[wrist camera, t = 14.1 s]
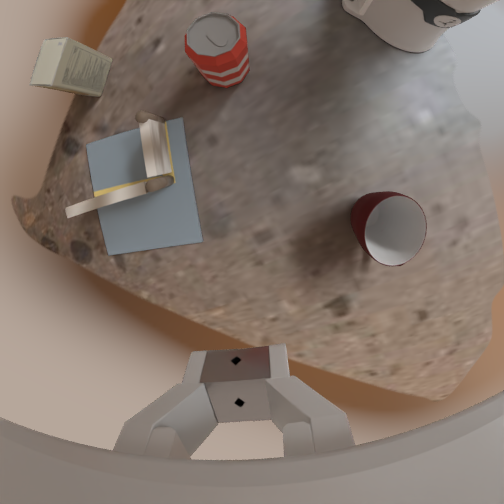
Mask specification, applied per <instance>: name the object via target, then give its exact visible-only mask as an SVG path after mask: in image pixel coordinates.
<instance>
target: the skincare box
mask: <svg viewBox="0 0 504 504" xmlns="http://www.w3.org/2000/svg"><path fill="white" fill-rule="evenodd" d="M111 63H112V59H111V58H109V57H107V56H105V55H103V54H102V53H99V52H97V51H95V50H93V49H91V48H89V47H87V46H85V45H83V44H81V43H79V42H77V41H74V40H72V39H70V38H68V37H65V38H51V39H45V40H44V42H43V44H42V46H41V49H40V52H39V55H38V57H37V60H36V64H35V67H34V70H33V73H32V77H31V81H30V85H31V86H37V87H43V88H49V89H54V90H60V91H65V92H69V93H74V94H79V95H86V96H94V97H100V96H101V94H102V91H103V88H104V85H105V82H106V78H107V75H108V72H109V69H110V66H111Z"/></svg>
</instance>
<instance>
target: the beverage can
mask: <svg viewBox="0 0 504 504" xmlns="http://www.w3.org/2000/svg"><path fill="white" fill-rule="evenodd" d="M185 52H186V54H187V55H188V56H189V58H190V59H191V60H192V62H193V63H194V65H195V66H196V67H197V69H198V70H199V71H200V73H201V74H202V76H203V77H204V78H205V79H206V80H207V81H208V82H209V83H210V84H211V85H213V86H219V87H225V88H228V87H230V86H233V85H235V84H238V83H241V82H242V81H243V79H244V78H245V76H246V75H247V73H248V72H249V71H250V69H249V57H248V47H247V36H246V28H245V27H244V26H243V25H242V24H241V23H240V22H238V21H237V20H236V19H235V18H234V17H232V16H230V15H229V14H225V13H217V12H210V13H208V14H205V15H203V16H200V17H198V18H196V19H195V20H194V21H193V23H192V24H191V25H190V26H189V28H188V29H187V33H186V35H185Z"/></svg>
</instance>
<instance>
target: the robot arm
mask: <svg viewBox="0 0 504 504" xmlns="http://www.w3.org/2000/svg"><path fill="white" fill-rule="evenodd" d="M497 1H499V0H352V1H350V0H342V6H343V8H344V10H345V11H347V12H348V13H350V14H351V15H353V16H355V17H357V18H359V19H361V20H362V21H363V22H364V23H365V24H366V25H367V26H368V27H369V28H370V29H371V30H372V31H373V32H374V33H375V34H376V35H378V36H379V37H380V38H381V39H383V40H384V41H386V42H387V43H389V44H391V45H392V46H394V47H397V48H399V49H402V50H405V51H409V52H424V51H427V50H429V49H431V48H432V47H433V46H434V45H435V43H436V42H437V40H438V39H439V38H440V36H441V35H442V34H443V33H444V32H445V31H446V30H447V29H448V28H450V27H453V26H456V25H458V24H461V23H463V22H465V21H467V20H469V19H470V18H472V17H474V16H476V15H477V14H478V13H479V12H480V10H481V9H482V8H484V7H486V6H488V5H490V4H492V3H494V2H497ZM260 420H272V422H273V423H274V424H275V425H276V426H277V427H278V429H279V430H280V431H281V432H282V433H283V443H284V457H280V458H267V459H251V460H191V458H190V456H191V455H192V454H193V453H194V452H195V451H196V450H197V448H198V447H199V446H200V445H201V444H202V443H203V441H204V440H205V439H206V438H207V437H208V436H209V434H210V433H211V432H212V431H213V429H214V428H215V427H216V426H217V425H218V423H224V422H240V421H260ZM0 504H504V390H503V391H502V392H500V393H498V394H496V395H494V396H492V397H490V398H488V399H486V400H484V401H482V402H480V403H478V404H476V405H474V406H472V407H469V408H467V409H465V410H463V411H461V412H458V413H456V414H453V415H451V416H449V417H446V418H444V419H441V420H439V421H436V422H433V423H431V424H428V425H425V426H422V427H419V428H416V429H414V430H411V431H408V432H404V433H401V434H398V435H394V436H391V437H387V438H384V439H380V440H376V441H372V442H368V443H364V444H360V445H355V443H354V439H353V436H352V432H351V429H350V425H349V422H348V418H347V415H346V413H345V412H343V411H342V410H341V409H339V408H338V407H336V406H335V405H334V404H332V403H331V402H329V401H328V400H327V399H325V398H324V397H322V396H321V395H320V394H318V393H317V392H316V391H314V390H313V389H311V388H310V387H309V386H308V385H306V384H305V383H304V382H302V381H301V380H299V379H298V378H297V377H296V376H290V374H289V366H288V359H287V351H286V344H285V343H282V344H275V345H269V346H264V347H255V348H246V349H229V350H210V351H194V352H192V353H191V355H190V358H189V361H188V364H187V368H186V371H185V374H184V377H183V381H182V384H176V385H175V386H174V387H172V388H171V389H170V390H168V391H167V392H166V393H165V394H163V395H162V396H160V397H159V398H158V399H157V400H155V401H154V402H152V403H151V404H150V405H148V406H147V407H146V408H144V409H143V410H142V411H140V412H139V413H137V414H136V415H135V416H133V417H132V418H130V419H129V420H128V421H126V422H125V423H124V426H123V428H122V430H121V432H120V435H119V437H118V439H117V442H116V444H115V447H114V449H113V451H111V450H107V449H101V448H97V447H92V446H88V445H84V444H79V443H75V442H72V441H68V440H64V439H60V438H57V437H53V436H50V435H47V434H44V433H41V432H38V431H35V430H32V429H29V428H26V427H24V426H21V425H18V424H16V423H13V422H11V421H8V420H6V419H3V418H1V417H0Z"/></svg>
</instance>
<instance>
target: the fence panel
mask: <svg viewBox="0 0 504 504" xmlns="http://www.w3.org/2000/svg"><path fill="white" fill-rule="evenodd" d="M146 183H147V182H145V181H144V182H141V183H138V184H134V185H131V186H128V187H125V188H121V189H118V190H115V191H112V192H109V193H106V194H103V195H100V196H97V197H94V198H91V199H89V200H86V201H83V202H80V203H77V204H75V205H72V206H69V207H67V208H65V211H66V214H67V218H70V217H73V216H76V215H79V214H82V213H85V212H88V211H91V210H94V209H97V208H100V207H103V206H107V205H110V204H113V203H116V202H120V201H123V200H126V199H130V198H133V197H136V196H140V195H143V194H147V193H148V192H149V191H148V190H147V189H146Z"/></svg>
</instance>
